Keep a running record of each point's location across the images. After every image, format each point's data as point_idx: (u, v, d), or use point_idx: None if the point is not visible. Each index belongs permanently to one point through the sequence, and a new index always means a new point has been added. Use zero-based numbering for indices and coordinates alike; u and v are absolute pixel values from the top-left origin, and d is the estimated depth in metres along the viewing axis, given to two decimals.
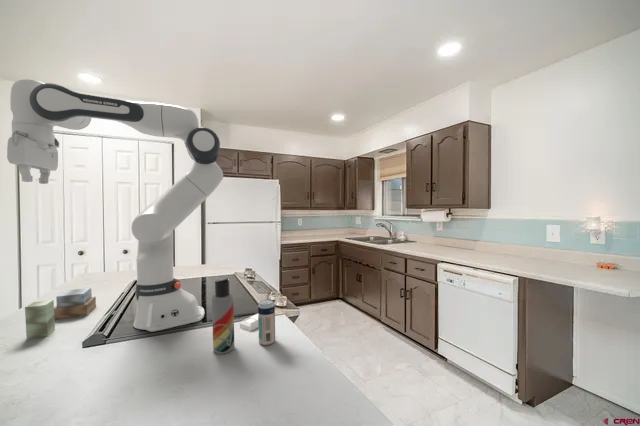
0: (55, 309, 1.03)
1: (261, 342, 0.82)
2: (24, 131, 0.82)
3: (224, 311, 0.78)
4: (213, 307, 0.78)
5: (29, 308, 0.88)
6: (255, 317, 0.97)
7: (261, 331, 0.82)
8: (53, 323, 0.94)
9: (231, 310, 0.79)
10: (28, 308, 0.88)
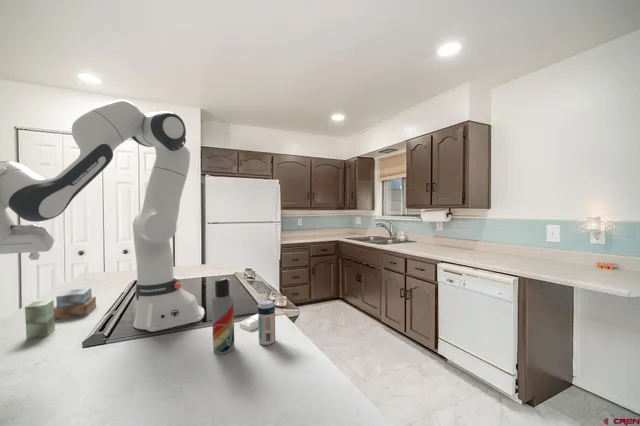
0: (55, 309, 1.03)
1: (261, 342, 0.82)
2: (9, 224, 0.71)
3: (224, 311, 0.78)
4: (213, 307, 0.78)
5: (29, 308, 0.88)
6: (255, 317, 0.97)
7: (261, 331, 0.82)
8: (53, 323, 0.94)
9: (231, 310, 0.79)
10: (28, 308, 0.88)
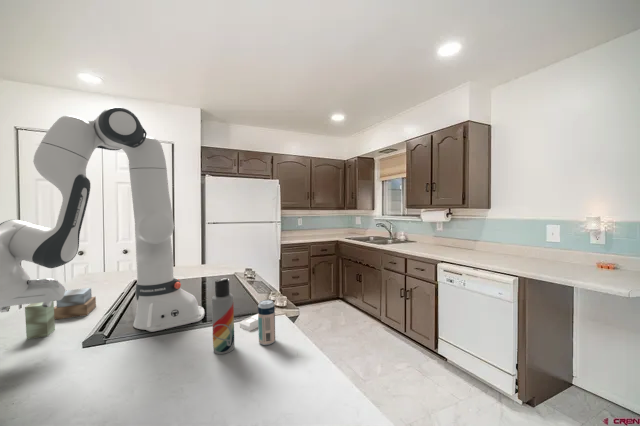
0: (55, 309, 1.03)
1: (261, 342, 0.82)
2: (26, 280, 0.77)
3: (224, 311, 0.78)
4: (213, 307, 0.78)
5: (29, 308, 0.88)
6: (255, 317, 0.97)
7: (261, 331, 0.82)
8: (53, 323, 0.94)
9: (231, 310, 0.79)
10: (28, 308, 0.88)
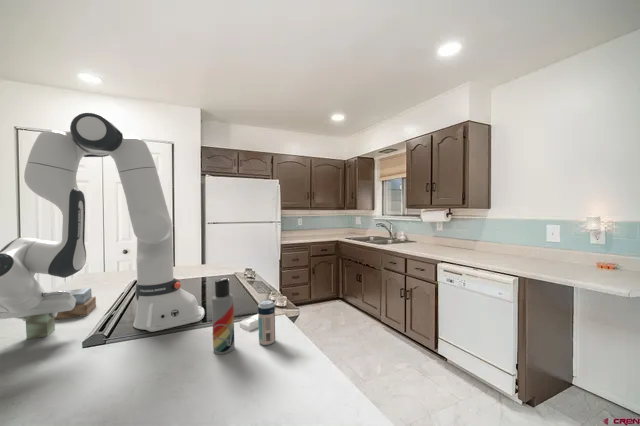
0: None
1: (261, 342, 0.82)
2: (41, 293, 0.84)
3: (224, 311, 0.78)
4: (213, 307, 0.78)
5: None
6: (255, 317, 0.97)
7: (261, 331, 0.82)
8: (53, 323, 0.94)
9: (231, 310, 0.79)
10: None
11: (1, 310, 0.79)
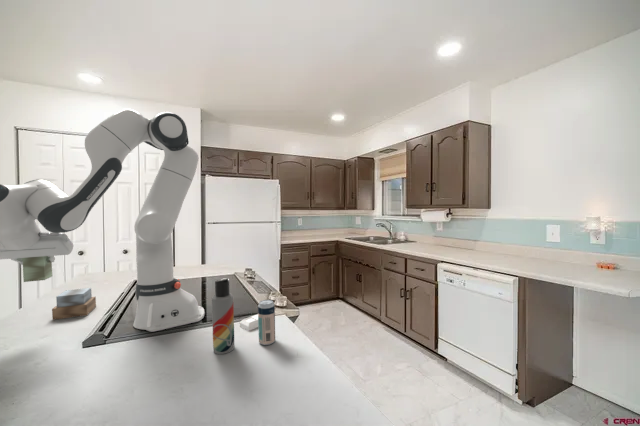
0: (55, 309, 1.03)
1: (261, 342, 0.82)
2: (37, 232, 0.83)
3: (224, 311, 0.78)
4: (213, 307, 0.78)
5: None
6: (255, 317, 0.97)
7: (261, 331, 0.82)
8: (50, 269, 0.93)
9: (231, 310, 0.79)
10: None
11: None
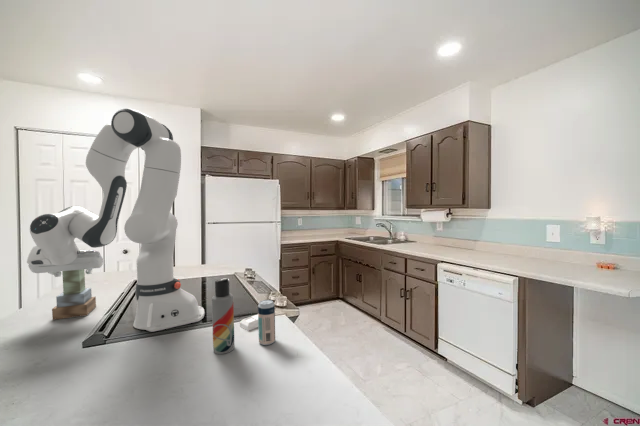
0: (55, 309, 1.03)
1: (261, 342, 0.82)
2: (76, 250, 1.01)
3: (224, 311, 0.78)
4: (213, 307, 0.78)
5: None
6: (255, 317, 0.97)
7: (261, 331, 0.82)
8: (84, 283, 1.11)
9: (231, 310, 0.79)
10: None
11: (46, 262, 0.96)
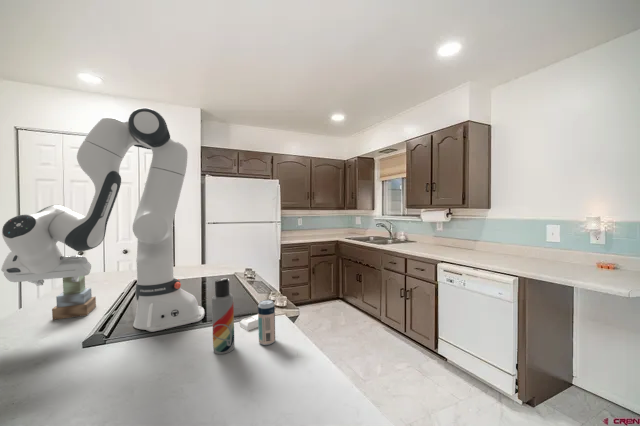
0: (55, 309, 1.03)
1: (261, 342, 0.82)
2: (59, 256, 0.89)
3: (224, 311, 0.78)
4: (213, 307, 0.78)
5: None
6: (256, 317, 0.97)
7: (261, 331, 0.82)
8: (84, 283, 1.11)
9: (231, 310, 0.79)
10: None
11: (23, 270, 0.84)
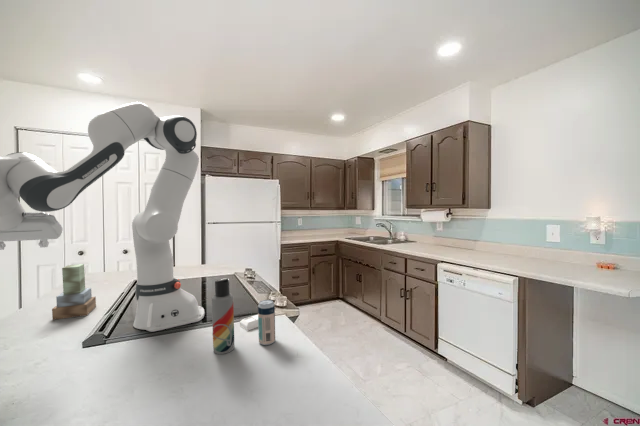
0: (55, 309, 1.03)
1: (261, 342, 0.82)
2: (21, 212, 0.74)
3: (224, 311, 0.78)
4: (213, 307, 0.78)
5: (65, 268, 1.06)
6: (256, 317, 0.97)
7: (261, 331, 0.82)
8: (84, 283, 1.11)
9: (231, 310, 0.79)
10: (65, 269, 1.05)
11: None
